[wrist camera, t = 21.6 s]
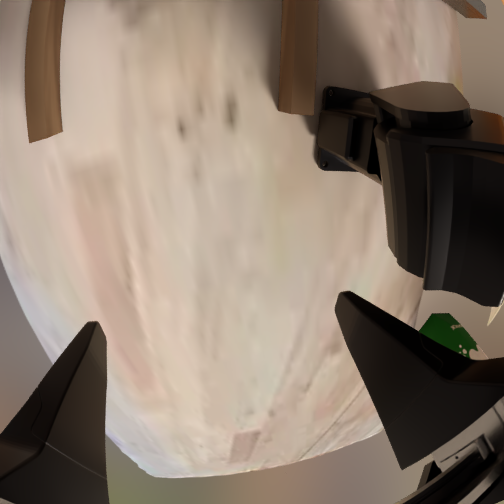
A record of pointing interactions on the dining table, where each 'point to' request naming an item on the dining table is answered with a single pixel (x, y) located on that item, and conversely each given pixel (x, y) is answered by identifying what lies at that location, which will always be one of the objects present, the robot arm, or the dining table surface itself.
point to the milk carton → (452, 335)
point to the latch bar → (469, 8)
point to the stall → (48, 63)
